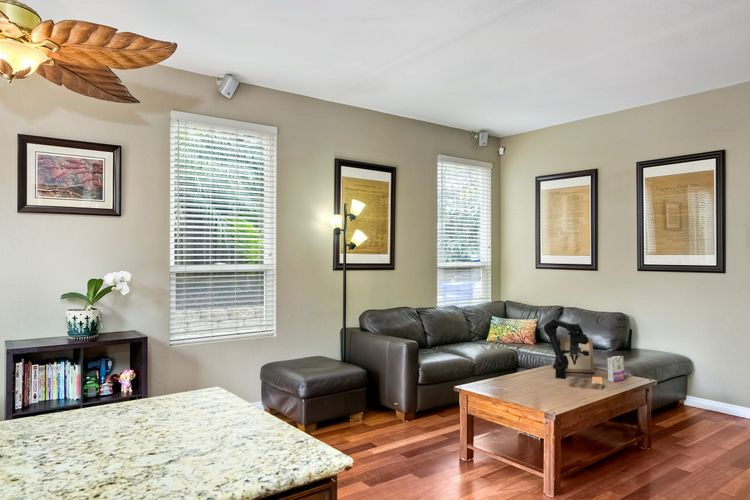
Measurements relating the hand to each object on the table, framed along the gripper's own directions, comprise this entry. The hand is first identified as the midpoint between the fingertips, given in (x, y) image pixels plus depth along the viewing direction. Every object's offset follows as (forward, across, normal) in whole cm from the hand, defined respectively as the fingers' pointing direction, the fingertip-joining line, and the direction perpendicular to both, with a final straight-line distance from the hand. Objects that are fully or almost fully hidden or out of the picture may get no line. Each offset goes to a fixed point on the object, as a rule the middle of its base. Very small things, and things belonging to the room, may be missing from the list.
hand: (574, 364), depth 346 cm
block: (+10, +14, -10) cm, 20 cm away
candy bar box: (+12, +26, +14) cm, 32 cm away
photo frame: (+12, 0, +35) cm, 37 cm away
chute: (+12, +7, -10) cm, 17 cm away
